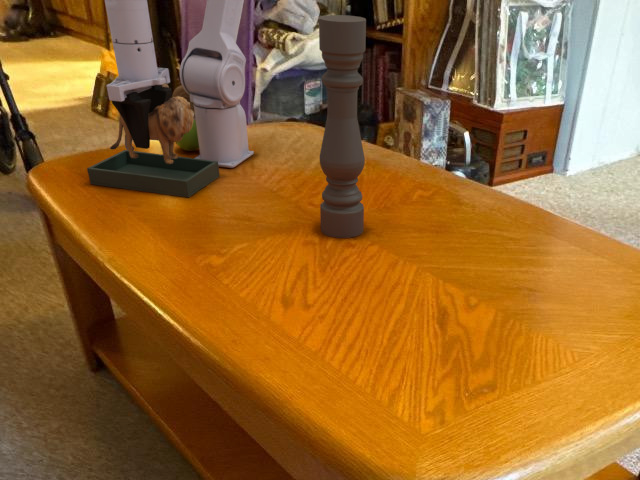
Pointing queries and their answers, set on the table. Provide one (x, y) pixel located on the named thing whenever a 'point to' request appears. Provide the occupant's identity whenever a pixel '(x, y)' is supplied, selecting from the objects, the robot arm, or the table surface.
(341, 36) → the candle holder
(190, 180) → the tray
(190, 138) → the snail figurine
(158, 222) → the table surface
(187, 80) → the robot arm
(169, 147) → the lion figurine
